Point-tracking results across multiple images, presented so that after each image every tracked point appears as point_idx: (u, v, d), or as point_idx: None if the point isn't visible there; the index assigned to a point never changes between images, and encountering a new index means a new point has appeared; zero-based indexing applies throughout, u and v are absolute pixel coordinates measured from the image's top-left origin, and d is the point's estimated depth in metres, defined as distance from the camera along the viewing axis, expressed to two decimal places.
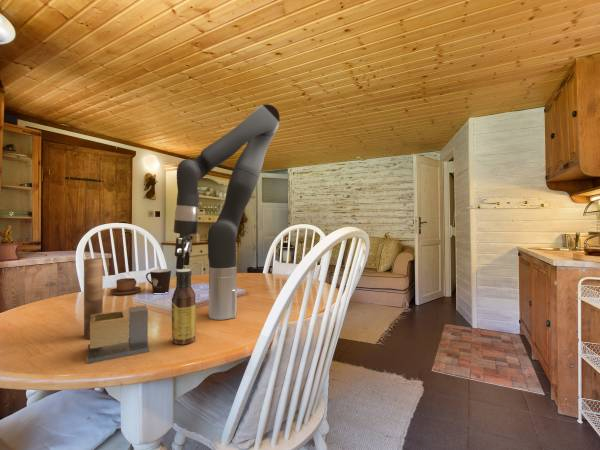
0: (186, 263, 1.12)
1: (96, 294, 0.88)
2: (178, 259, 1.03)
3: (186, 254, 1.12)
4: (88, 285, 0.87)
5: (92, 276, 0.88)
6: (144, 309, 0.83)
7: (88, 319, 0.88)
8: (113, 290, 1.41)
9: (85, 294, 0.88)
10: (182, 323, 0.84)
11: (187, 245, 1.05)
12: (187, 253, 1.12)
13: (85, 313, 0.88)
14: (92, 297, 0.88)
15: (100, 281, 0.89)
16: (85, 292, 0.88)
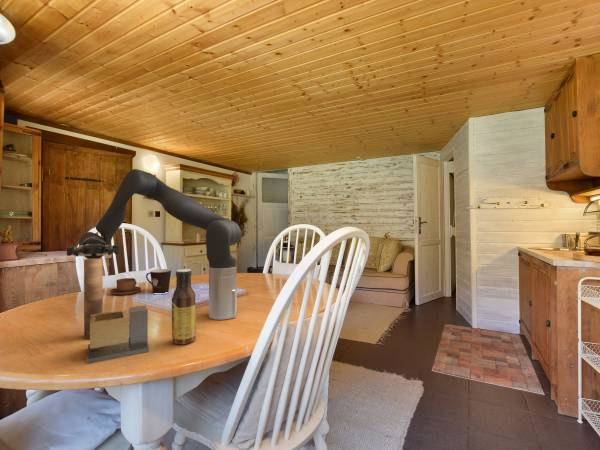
0: (108, 250, 1.01)
1: (96, 294, 0.88)
2: None
3: None
4: (88, 285, 0.87)
5: (92, 276, 0.88)
6: (144, 309, 0.83)
7: (88, 319, 0.88)
8: (113, 290, 1.41)
9: (85, 294, 0.88)
10: (182, 323, 0.84)
11: (83, 245, 1.04)
12: None
13: (85, 313, 0.88)
14: (92, 297, 0.88)
15: (100, 281, 0.89)
16: (85, 292, 0.88)
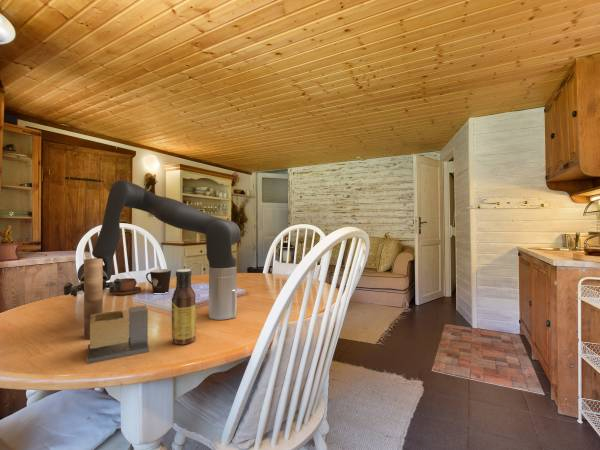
0: (109, 288, 0.92)
1: (96, 294, 0.88)
2: (71, 292, 0.89)
3: None
4: (88, 285, 0.87)
5: (93, 276, 0.88)
6: (144, 309, 0.83)
7: (88, 319, 0.88)
8: None
9: (85, 294, 0.88)
10: (182, 323, 0.84)
11: (82, 281, 0.94)
12: None
13: (85, 313, 0.88)
14: (92, 297, 0.88)
15: (100, 281, 0.89)
16: (85, 292, 0.88)
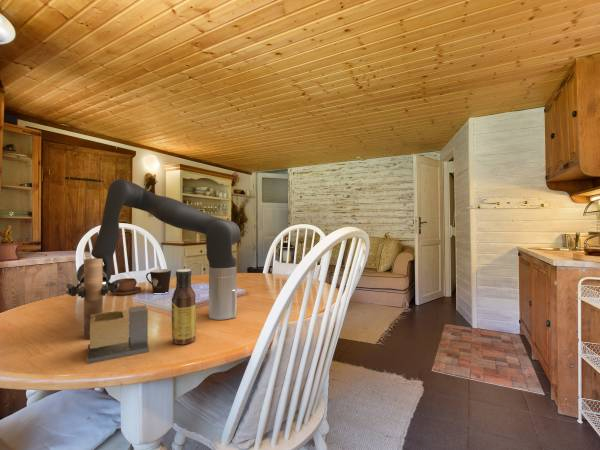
0: None
1: (96, 294, 0.88)
2: None
3: None
4: (88, 285, 0.87)
5: (92, 276, 0.88)
6: (144, 309, 0.83)
7: (88, 319, 0.88)
8: None
9: (85, 294, 0.88)
10: (182, 323, 0.84)
11: None
12: None
13: (85, 313, 0.88)
14: (92, 297, 0.88)
15: (100, 281, 0.89)
16: (85, 292, 0.88)
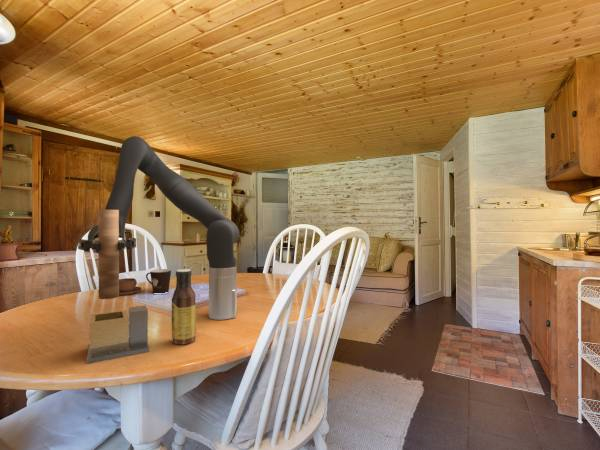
0: (119, 244, 0.79)
1: (112, 249, 0.78)
2: (92, 247, 0.78)
3: None
4: (103, 238, 0.77)
5: (108, 228, 0.78)
6: (144, 309, 0.83)
7: (103, 276, 0.78)
8: None
9: (100, 248, 0.78)
10: (182, 323, 0.84)
11: None
12: None
13: (100, 269, 0.78)
14: (108, 251, 0.78)
15: (116, 234, 0.79)
16: (100, 246, 0.78)
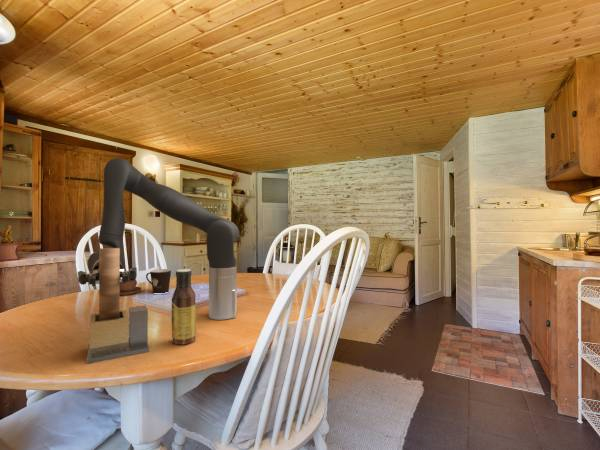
0: (122, 277, 0.80)
1: (113, 288, 0.79)
2: (89, 281, 0.78)
3: None
4: (104, 277, 0.78)
5: (109, 268, 0.78)
6: (144, 309, 0.83)
7: (104, 315, 0.78)
8: None
9: (101, 287, 0.78)
10: (182, 323, 0.84)
11: (96, 270, 0.83)
12: None
13: (100, 309, 0.78)
14: (109, 290, 0.78)
15: (117, 273, 0.80)
16: (101, 285, 0.78)
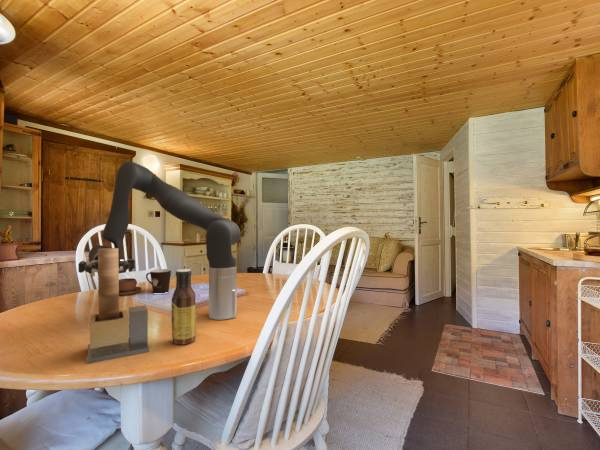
0: (124, 265, 0.92)
1: (112, 288, 0.78)
2: (86, 269, 0.89)
3: None
4: (103, 278, 0.77)
5: (108, 268, 0.78)
6: (144, 309, 0.83)
7: (103, 316, 0.78)
8: None
9: (100, 288, 0.78)
10: (182, 323, 0.84)
11: (96, 260, 0.94)
12: None
13: (100, 309, 0.78)
14: (108, 291, 0.78)
15: (116, 273, 0.79)
16: (100, 286, 0.78)
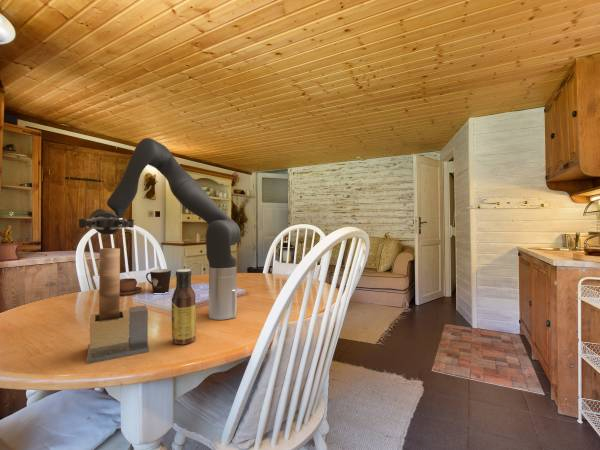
0: (123, 222, 0.94)
1: (113, 288, 0.78)
2: (86, 224, 0.92)
3: None
4: (104, 278, 0.78)
5: (109, 268, 0.78)
6: (144, 309, 0.83)
7: (104, 316, 0.78)
8: None
9: (101, 288, 0.78)
10: (182, 323, 0.84)
11: None
12: (123, 222, 0.98)
13: (100, 309, 0.78)
14: (109, 291, 0.78)
15: (117, 273, 0.79)
16: (101, 285, 0.78)
